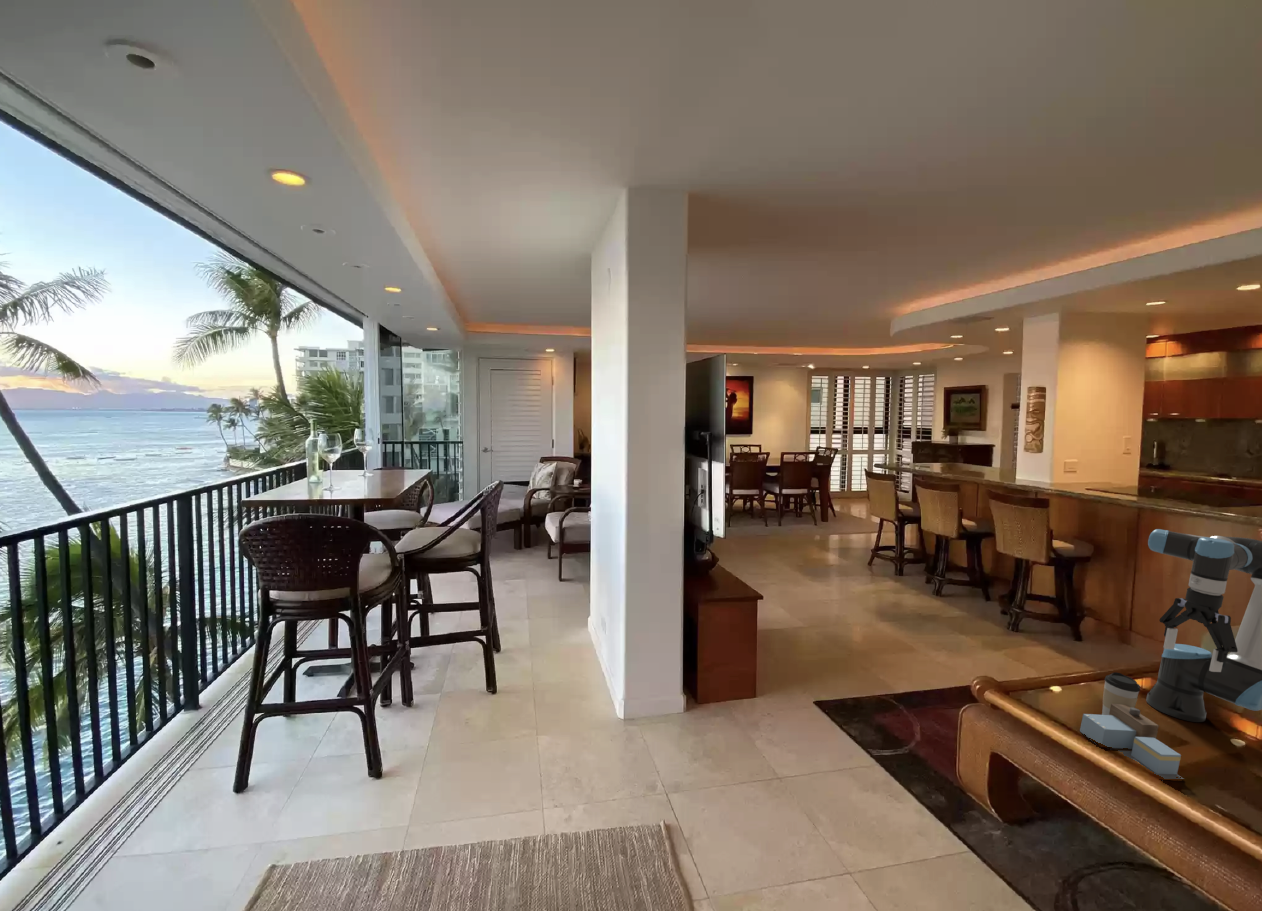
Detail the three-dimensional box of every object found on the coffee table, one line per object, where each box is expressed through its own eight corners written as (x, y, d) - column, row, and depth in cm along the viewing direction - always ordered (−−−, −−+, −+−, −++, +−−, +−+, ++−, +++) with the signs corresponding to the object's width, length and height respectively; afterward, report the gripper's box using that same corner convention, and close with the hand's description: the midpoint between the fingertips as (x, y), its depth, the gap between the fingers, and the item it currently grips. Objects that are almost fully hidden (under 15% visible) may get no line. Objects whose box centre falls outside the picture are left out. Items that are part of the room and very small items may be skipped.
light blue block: (1150, 755, 169) (1153, 737, 169) (1177, 774, 161) (1181, 755, 161) (1130, 755, 169) (1134, 736, 168) (1157, 773, 161) (1161, 754, 160)
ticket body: (1122, 733, 181) (1125, 715, 181) (1145, 749, 173) (1149, 731, 173) (1079, 731, 181) (1083, 713, 180) (1101, 747, 173) (1104, 729, 172)
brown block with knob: (1120, 730, 183) (1127, 700, 182) (1152, 753, 172) (1159, 720, 171) (1105, 729, 183) (1112, 699, 181) (1137, 752, 172) (1143, 719, 170)
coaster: (1145, 753, 171) (1145, 751, 171) (1184, 781, 160) (1184, 779, 159) (1106, 751, 171) (1107, 749, 171) (1143, 779, 159) (1144, 777, 159)
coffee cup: (1139, 729, 184) (1148, 686, 182) (1108, 724, 186) (1116, 682, 184) (1121, 714, 193) (1130, 673, 191) (1091, 709, 195) (1099, 668, 193)
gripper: (1152, 575, 177) (1139, 639, 180) (1240, 607, 152) (1223, 681, 155) (1175, 576, 177) (1162, 640, 180) (1266, 608, 153) (1249, 682, 155)
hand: (1190, 659), depth 168 cm, fingers open, 13 cm apart
